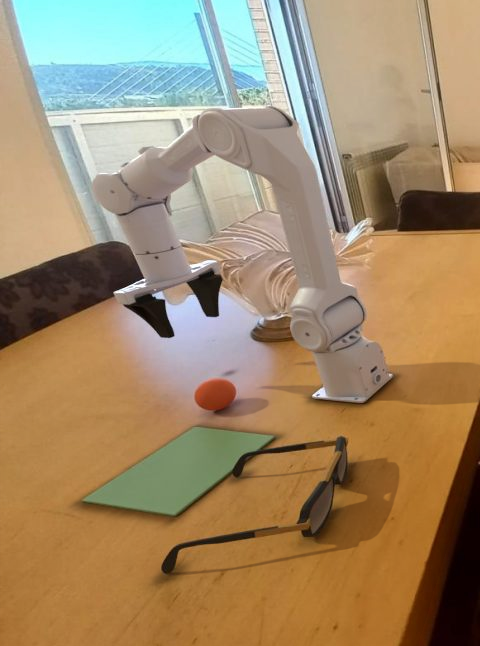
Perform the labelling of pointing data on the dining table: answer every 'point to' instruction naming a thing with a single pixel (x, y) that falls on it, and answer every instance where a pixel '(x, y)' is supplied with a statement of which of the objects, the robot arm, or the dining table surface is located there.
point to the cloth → (179, 471)
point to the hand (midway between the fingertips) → (191, 326)
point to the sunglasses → (311, 512)
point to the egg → (215, 394)
